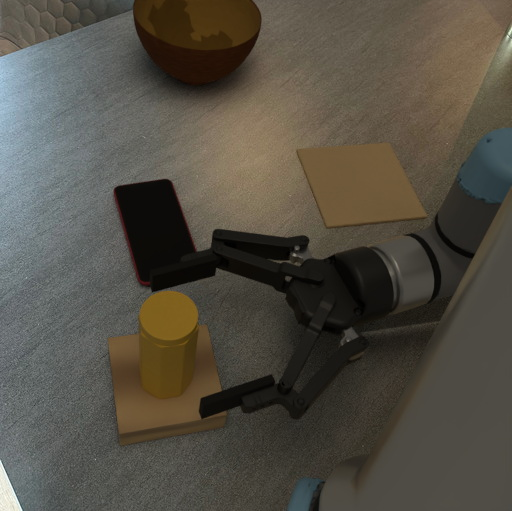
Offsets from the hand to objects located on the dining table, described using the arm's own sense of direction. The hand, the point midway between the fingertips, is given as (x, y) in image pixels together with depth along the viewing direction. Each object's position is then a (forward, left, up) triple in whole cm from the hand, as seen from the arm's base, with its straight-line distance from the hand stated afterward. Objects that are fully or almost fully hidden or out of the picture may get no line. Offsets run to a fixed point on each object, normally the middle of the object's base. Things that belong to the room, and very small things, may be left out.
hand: (174, 341), depth 56 cm
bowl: (+50, -11, -9) cm, 52 cm away
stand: (0, +1, -9) cm, 9 cm away
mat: (+25, -29, -9) cm, 39 cm away
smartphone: (+20, -1, -9) cm, 22 cm away
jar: (0, +1, -6) cm, 6 cm away
